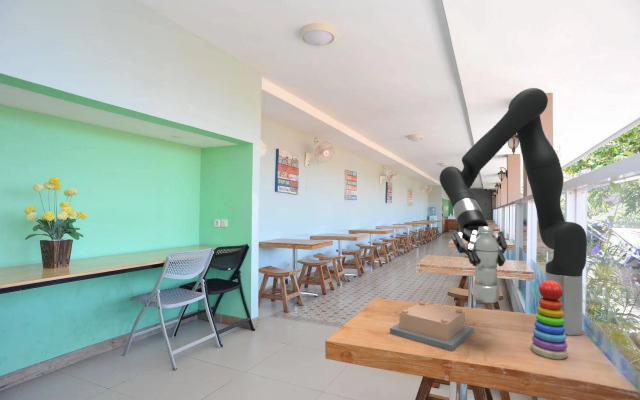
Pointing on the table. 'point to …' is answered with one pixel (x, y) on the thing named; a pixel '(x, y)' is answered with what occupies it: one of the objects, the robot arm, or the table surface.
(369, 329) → the table surface
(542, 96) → the robot arm
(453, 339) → the brick tower base
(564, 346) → the stacking toy
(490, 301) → the plastic bottle
